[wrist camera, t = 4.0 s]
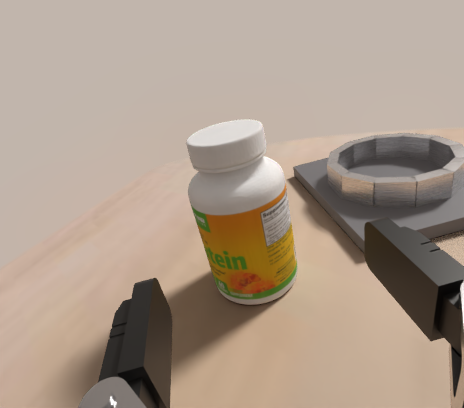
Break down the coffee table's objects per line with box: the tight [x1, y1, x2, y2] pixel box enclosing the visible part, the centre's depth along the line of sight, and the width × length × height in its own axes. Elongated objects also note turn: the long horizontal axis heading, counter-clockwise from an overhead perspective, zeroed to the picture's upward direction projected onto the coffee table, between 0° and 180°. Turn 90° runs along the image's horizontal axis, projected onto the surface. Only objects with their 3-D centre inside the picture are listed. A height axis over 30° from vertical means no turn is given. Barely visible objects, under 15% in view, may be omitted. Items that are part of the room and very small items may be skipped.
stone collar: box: [327, 133, 464, 208], centre depth 25 cm, size 10×10×2 cm
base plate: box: [293, 157, 464, 254], centre depth 26 cm, size 12×14×1 cm
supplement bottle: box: [186, 119, 297, 305], centre depth 18 cm, size 5×5×10 cm
